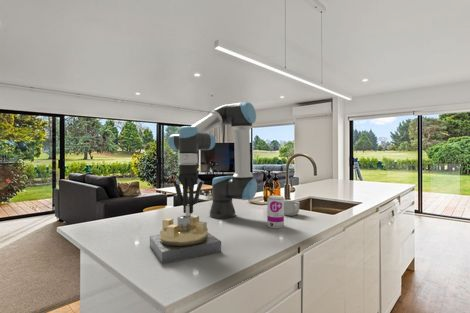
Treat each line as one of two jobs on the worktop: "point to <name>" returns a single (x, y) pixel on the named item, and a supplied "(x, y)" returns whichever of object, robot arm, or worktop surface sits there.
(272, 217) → the supplement can
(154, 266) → the worktop surface
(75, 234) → the worktop surface
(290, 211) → the teacup
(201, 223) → the ring nut
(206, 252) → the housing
